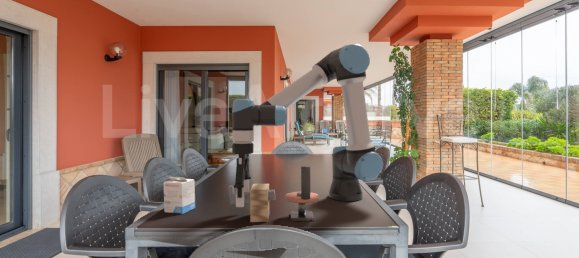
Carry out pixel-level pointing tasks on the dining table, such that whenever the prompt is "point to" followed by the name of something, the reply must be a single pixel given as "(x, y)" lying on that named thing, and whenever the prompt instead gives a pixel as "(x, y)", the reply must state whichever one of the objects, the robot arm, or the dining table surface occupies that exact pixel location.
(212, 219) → the dining table surface
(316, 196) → the handwheel
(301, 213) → the wheel post
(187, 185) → the ink box
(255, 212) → the eye block
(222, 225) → the dining table surface
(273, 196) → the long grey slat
